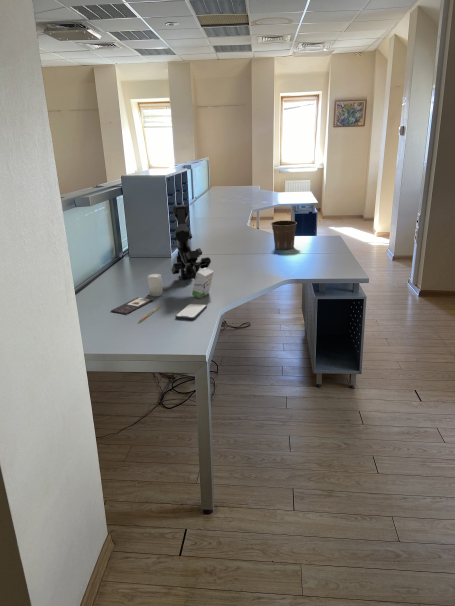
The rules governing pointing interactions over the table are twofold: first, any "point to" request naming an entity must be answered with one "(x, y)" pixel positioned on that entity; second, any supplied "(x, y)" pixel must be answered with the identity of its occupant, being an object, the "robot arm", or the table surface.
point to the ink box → (202, 282)
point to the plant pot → (284, 234)
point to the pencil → (149, 314)
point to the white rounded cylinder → (155, 284)
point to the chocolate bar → (131, 306)
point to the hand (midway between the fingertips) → (197, 280)
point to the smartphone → (191, 312)
